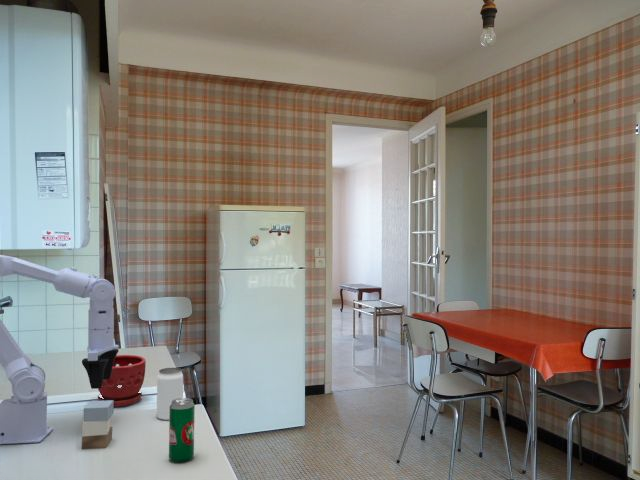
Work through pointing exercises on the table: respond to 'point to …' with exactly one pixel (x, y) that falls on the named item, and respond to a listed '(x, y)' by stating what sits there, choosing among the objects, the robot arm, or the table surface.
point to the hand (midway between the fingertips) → (100, 383)
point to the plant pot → (124, 380)
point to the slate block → (98, 411)
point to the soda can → (181, 430)
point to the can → (168, 390)
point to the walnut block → (97, 441)
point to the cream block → (96, 428)
